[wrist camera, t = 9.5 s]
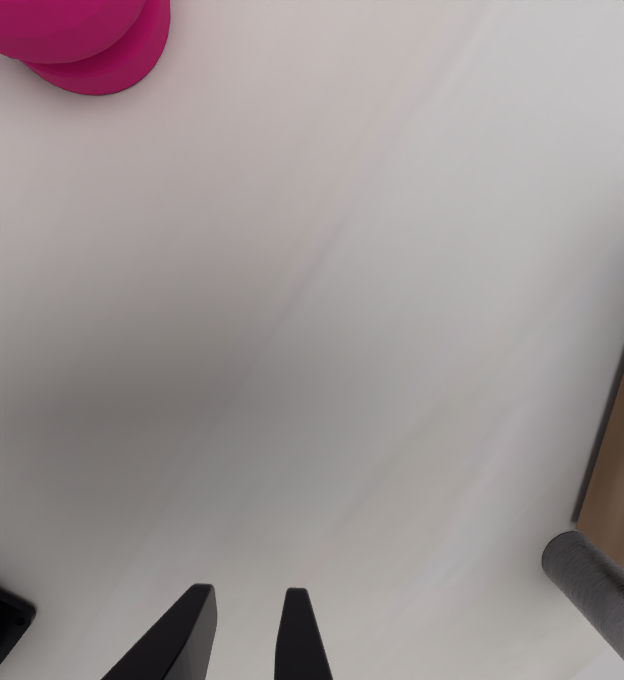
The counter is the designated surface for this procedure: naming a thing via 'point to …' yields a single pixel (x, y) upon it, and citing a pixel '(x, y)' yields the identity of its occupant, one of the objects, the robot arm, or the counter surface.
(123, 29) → the pepper mill
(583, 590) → the gate post
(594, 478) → the gate
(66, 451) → the counter surface
